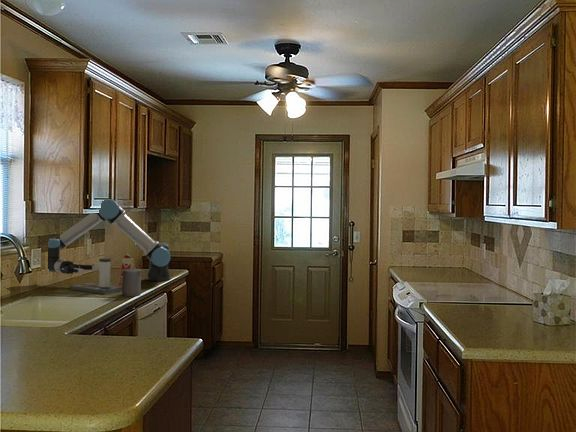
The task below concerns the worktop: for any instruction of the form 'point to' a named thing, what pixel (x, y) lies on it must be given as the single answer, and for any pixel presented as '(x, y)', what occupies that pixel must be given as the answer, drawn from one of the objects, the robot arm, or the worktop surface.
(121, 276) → the milk carton
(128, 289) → the pillar candle
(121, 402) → the worktop surface
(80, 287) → the console
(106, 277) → the white bottle
